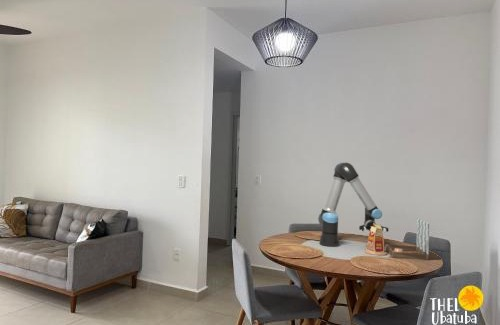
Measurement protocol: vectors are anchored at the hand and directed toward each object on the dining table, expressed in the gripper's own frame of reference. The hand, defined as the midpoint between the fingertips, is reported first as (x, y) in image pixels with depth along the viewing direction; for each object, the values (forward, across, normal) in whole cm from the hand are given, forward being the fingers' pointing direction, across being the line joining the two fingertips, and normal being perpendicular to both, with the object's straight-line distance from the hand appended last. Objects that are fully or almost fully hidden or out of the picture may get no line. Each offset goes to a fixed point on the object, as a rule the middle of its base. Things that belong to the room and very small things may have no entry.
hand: (375, 230), depth 246 cm
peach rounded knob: (+10, -14, -15) cm, 22 cm away
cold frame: (+2, -20, -15) cm, 25 cm away
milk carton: (+4, 0, -14) cm, 14 cm away
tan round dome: (+4, 0, -15) cm, 15 cm away
